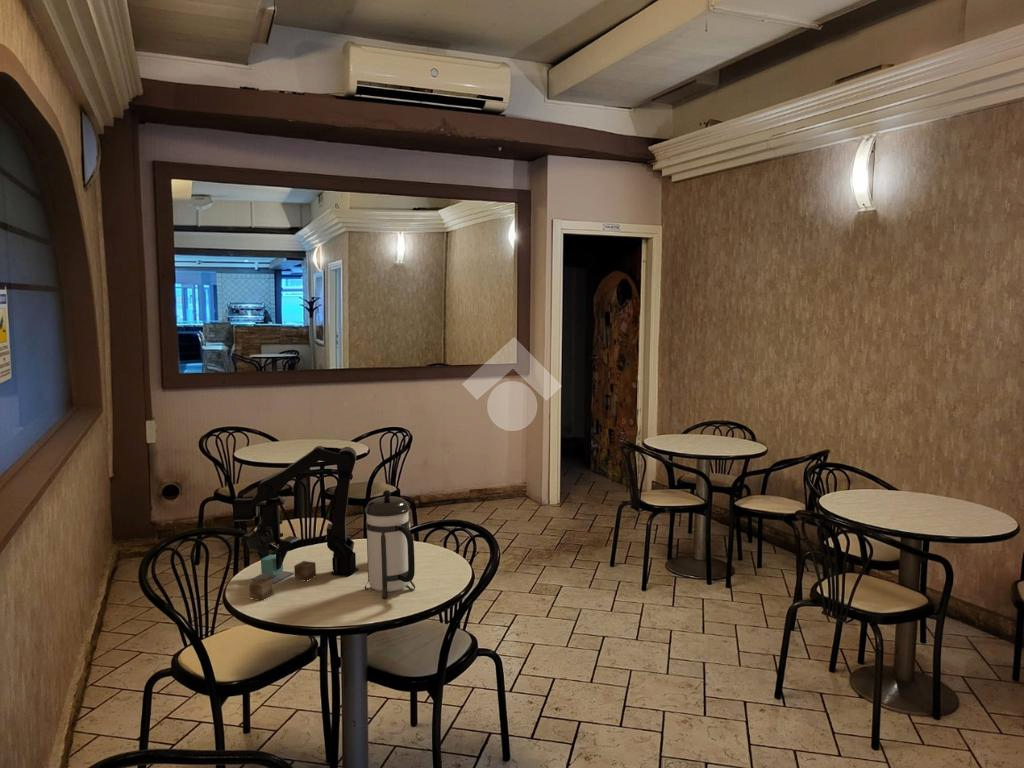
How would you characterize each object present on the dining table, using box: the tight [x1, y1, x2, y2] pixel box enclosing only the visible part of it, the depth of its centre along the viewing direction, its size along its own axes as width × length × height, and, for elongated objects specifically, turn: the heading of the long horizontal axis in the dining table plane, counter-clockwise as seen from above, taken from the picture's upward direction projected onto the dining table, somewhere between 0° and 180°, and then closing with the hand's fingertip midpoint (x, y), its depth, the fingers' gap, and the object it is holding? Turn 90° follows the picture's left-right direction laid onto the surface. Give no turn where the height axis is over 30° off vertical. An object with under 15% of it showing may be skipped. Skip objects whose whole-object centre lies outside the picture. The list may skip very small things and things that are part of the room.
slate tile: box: [250, 570, 295, 585], centre depth 226 cm, size 9×9×1 cm
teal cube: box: [260, 554, 284, 575], centre depth 226 cm, size 4×4×4 cm
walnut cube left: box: [248, 579, 274, 601], centre depth 211 cm, size 4×4×4 cm
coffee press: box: [364, 489, 416, 600], centre depth 213 cm, size 17×16×30 cm
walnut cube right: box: [293, 560, 317, 582], centre depth 225 cm, size 4×4×4 cm
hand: (272, 568), depth 226 cm, fingers open, 5 cm apart
